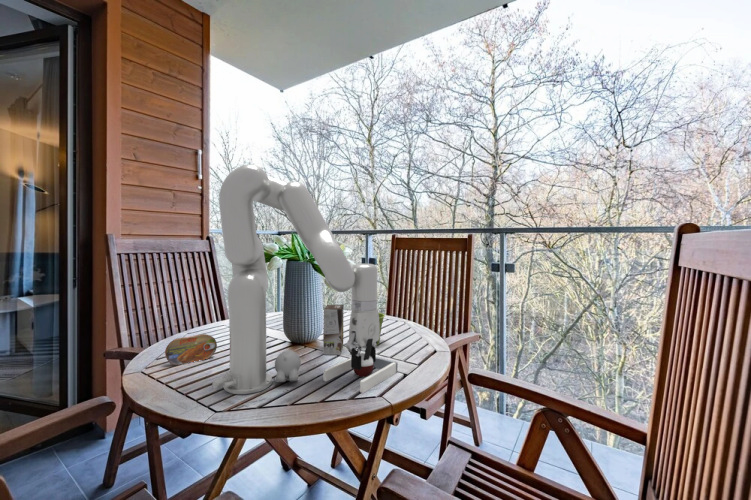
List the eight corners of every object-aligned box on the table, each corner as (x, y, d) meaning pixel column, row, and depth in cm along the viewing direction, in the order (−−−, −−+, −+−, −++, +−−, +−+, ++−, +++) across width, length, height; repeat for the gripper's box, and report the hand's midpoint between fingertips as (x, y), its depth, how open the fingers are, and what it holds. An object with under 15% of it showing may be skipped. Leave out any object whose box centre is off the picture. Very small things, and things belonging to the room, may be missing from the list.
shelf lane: (363, 393, 93) (363, 381, 92) (323, 380, 100) (323, 370, 100) (397, 371, 107) (397, 362, 107) (360, 362, 115) (360, 353, 115)
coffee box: (341, 355, 122) (341, 309, 122) (322, 354, 122) (322, 309, 122) (343, 347, 131) (344, 304, 131) (326, 346, 132) (327, 304, 131)
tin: (166, 368, 109) (165, 341, 109) (164, 365, 112) (164, 339, 111) (217, 357, 119) (217, 333, 118) (214, 355, 121) (214, 331, 121)
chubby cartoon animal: (301, 381, 106) (302, 352, 109) (299, 381, 95) (300, 349, 98) (276, 382, 105) (278, 352, 108) (272, 382, 94) (274, 349, 97)
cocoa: (353, 370, 109) (352, 332, 109) (373, 370, 109) (372, 331, 109) (353, 382, 99) (351, 339, 99) (375, 381, 100) (374, 338, 100)
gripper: (356, 312, 95) (356, 377, 95) (390, 302, 109) (389, 359, 110) (335, 308, 99) (335, 371, 99) (370, 299, 113) (369, 354, 114)
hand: (363, 364), depth 105 cm, fingers closed on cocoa, 6 cm apart
